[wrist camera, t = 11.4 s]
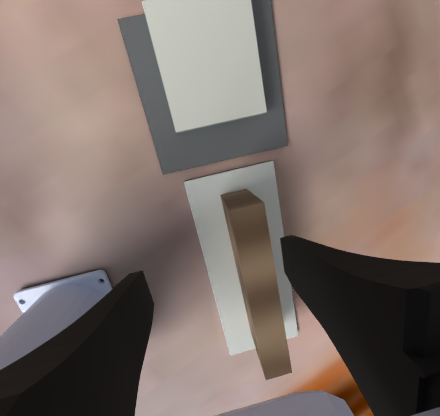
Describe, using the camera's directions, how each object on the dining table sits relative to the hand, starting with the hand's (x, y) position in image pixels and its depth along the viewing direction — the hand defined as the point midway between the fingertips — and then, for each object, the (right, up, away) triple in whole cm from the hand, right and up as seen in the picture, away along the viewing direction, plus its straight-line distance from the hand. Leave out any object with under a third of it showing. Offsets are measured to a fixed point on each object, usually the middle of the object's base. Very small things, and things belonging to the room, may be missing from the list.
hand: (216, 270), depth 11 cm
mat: (0, +13, +6) cm, 14 cm away
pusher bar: (+3, -3, +11) cm, 11 cm away
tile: (0, +10, +6) cm, 12 cm away
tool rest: (+3, -3, +11) cm, 12 cm away
